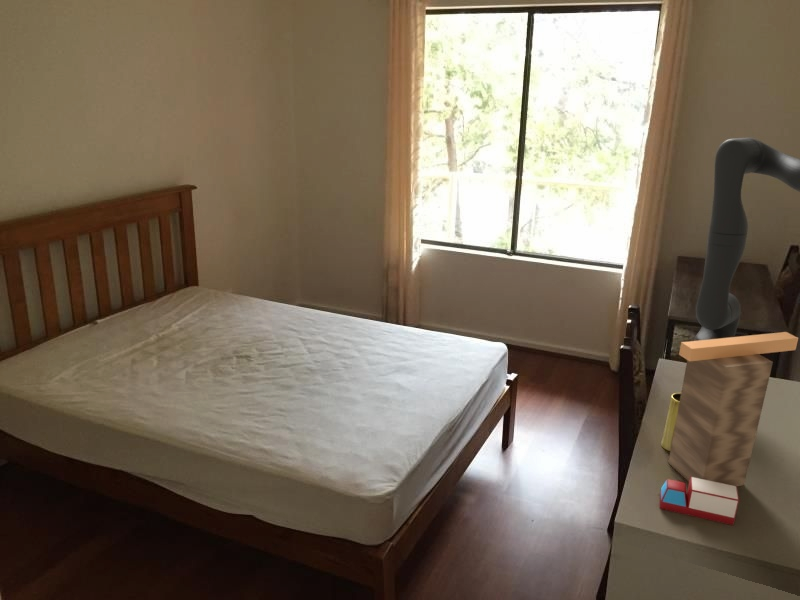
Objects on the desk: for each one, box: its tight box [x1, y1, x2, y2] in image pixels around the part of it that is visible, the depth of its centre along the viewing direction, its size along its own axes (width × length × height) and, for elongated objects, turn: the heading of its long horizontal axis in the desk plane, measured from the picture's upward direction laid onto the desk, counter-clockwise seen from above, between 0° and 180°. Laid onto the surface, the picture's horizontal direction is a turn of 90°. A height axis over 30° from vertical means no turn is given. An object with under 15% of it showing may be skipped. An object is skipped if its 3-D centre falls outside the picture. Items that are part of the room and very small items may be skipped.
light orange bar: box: [678, 331, 799, 361], centre depth 148 cm, size 28×4×3 cm, turn 104°
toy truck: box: [659, 477, 740, 526], centre depth 146 cm, size 6×15×7 cm, turn 69°
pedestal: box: [668, 354, 774, 487], centre depth 154 cm, size 12×12×32 cm
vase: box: [660, 392, 681, 452], centre depth 168 cm, size 6×6×14 cm
